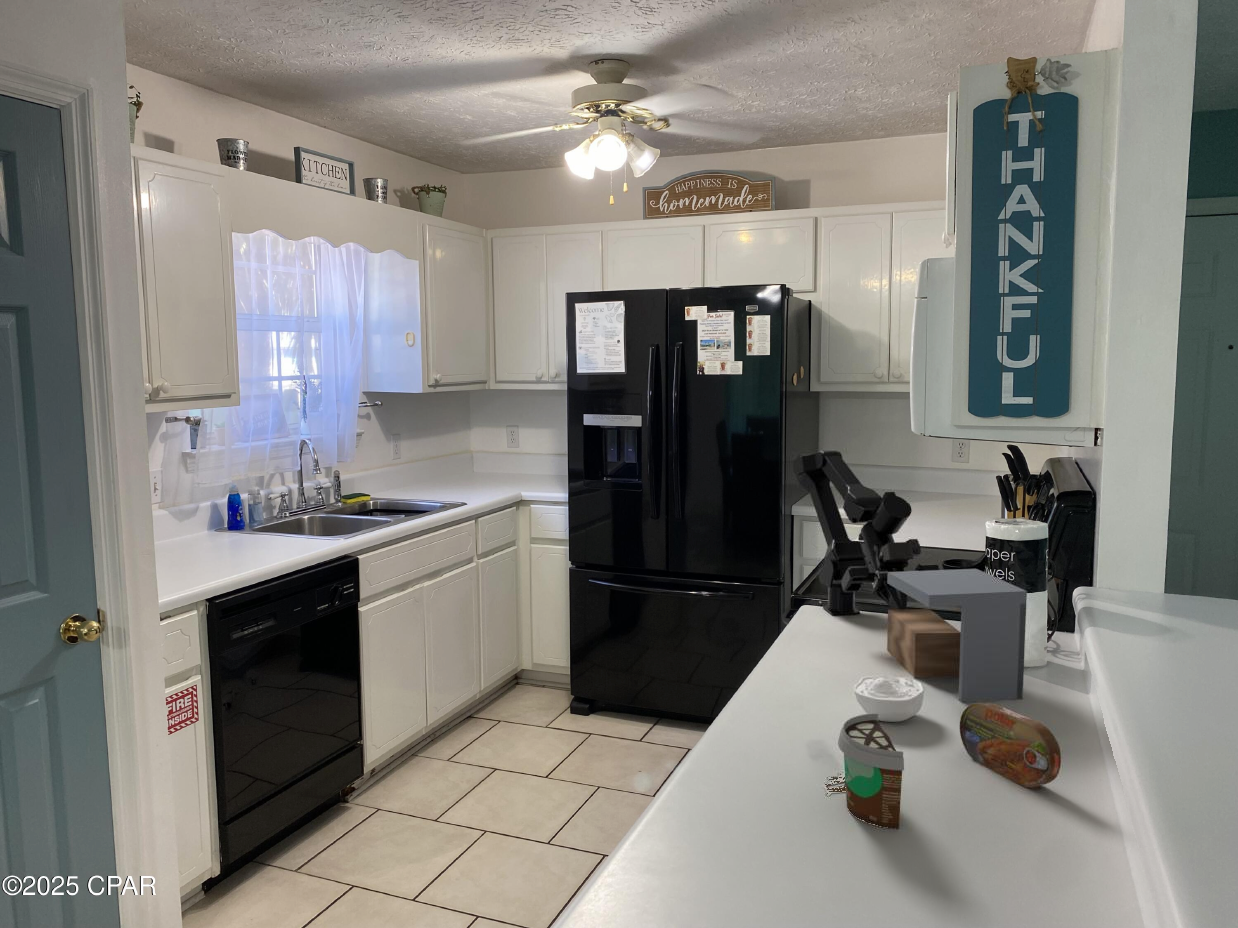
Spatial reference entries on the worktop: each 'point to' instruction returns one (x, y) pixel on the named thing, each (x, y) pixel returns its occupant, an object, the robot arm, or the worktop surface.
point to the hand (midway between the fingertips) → (903, 615)
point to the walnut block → (923, 643)
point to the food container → (871, 771)
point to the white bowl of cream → (889, 696)
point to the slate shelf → (978, 627)
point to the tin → (1010, 744)
